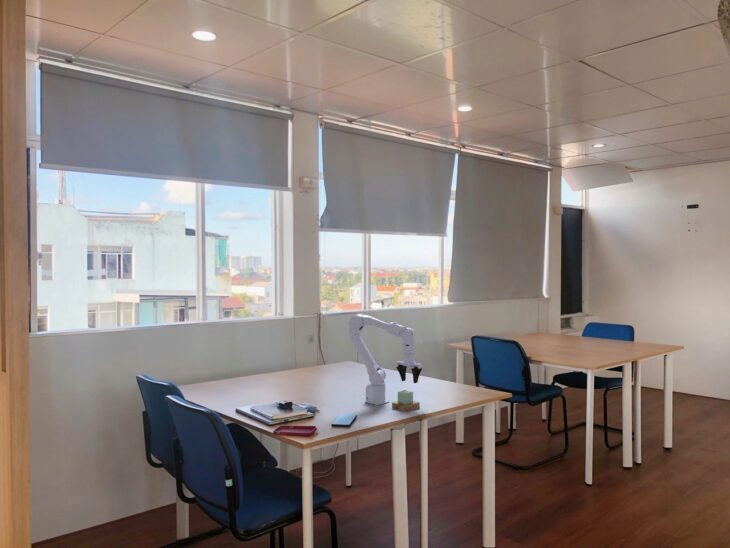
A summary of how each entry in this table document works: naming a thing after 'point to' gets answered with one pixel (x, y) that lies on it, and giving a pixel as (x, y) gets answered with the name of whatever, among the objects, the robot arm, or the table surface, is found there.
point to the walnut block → (405, 406)
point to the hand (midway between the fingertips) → (409, 381)
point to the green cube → (405, 397)
